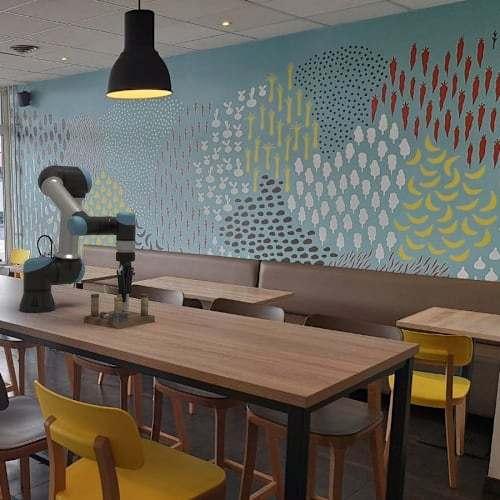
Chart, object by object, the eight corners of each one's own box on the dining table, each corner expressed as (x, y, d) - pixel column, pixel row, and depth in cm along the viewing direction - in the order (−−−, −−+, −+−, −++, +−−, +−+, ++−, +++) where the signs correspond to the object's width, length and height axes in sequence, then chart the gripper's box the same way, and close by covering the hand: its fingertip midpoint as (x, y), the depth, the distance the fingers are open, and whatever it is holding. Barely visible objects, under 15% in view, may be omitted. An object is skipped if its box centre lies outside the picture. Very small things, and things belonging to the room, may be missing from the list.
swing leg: (98, 317, 231) (98, 295, 230) (104, 315, 233) (104, 294, 233) (117, 321, 224) (117, 298, 223) (123, 320, 226) (124, 297, 226)
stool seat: (83, 322, 234) (84, 294, 233) (120, 315, 250) (121, 289, 249) (118, 329, 223) (118, 300, 222) (154, 321, 239) (155, 294, 238)
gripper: (122, 249, 237) (122, 306, 239) (110, 252, 224) (109, 312, 226) (140, 250, 236) (139, 307, 238) (128, 252, 223) (127, 313, 225)
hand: (124, 309), depth 232 cm, fingers closed
